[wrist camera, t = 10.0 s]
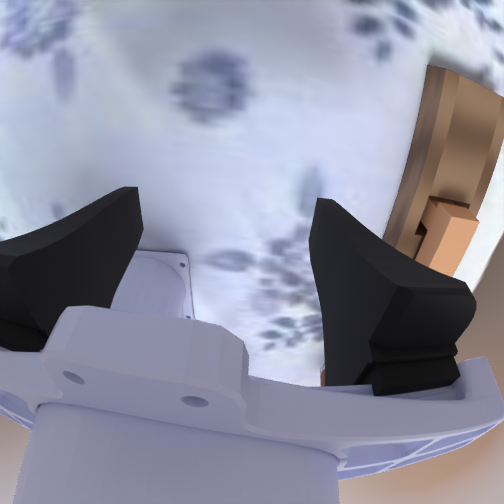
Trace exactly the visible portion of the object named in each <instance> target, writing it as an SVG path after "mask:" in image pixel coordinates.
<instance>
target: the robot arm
mask: <svg viewBox="0 0 504 504" xmlns="http://www.w3.org/2000/svg"><path fill="white" fill-rule="evenodd" d="M143 229H144V228H143V222H142V215H141V208H140V201H139V193H138V187H122V188H119V189H117V190H115V191H113V192H111V193H109V194H107V195H105V196H103V197H102V198H100V199H98V200H96V201H94V202H93V203H91V204H89V205H87V206H85V207H84V208H82V209H80V210H78V211H76V212H74V213H73V214H71V215H69V216H67V217H65V218H63V219H61V220H59V221H56V222H54V223H52V224H50V225H48V226H45V227H43V228H40V229H37V230H35V231H32V232H30V233H27V234H24V235H21V236H18V237H15V238H12V239H8V240H5V241H1V242H0V414H2V415H4V416H5V417H7V418H9V419H10V420H12V421H14V422H16V423H18V424H20V425H21V426H23V427H25V428H27V429H29V430H30V431H31V433H30V436H29V439H28V443H27V446H26V449H25V453H24V457H23V460H22V464H21V468H20V473H19V476H18V481H17V485H16V490H15V495H14V500H13V504H339V488H338V480H344V479H350V478H356V477H361V476H366V475H370V474H375V473H379V472H383V471H387V470H391V469H395V468H399V467H403V466H406V465H409V464H413V463H416V462H419V461H423V460H426V459H429V458H432V457H435V456H438V455H441V454H444V453H447V452H450V451H453V450H456V449H459V448H461V447H464V446H466V445H467V444H469V443H470V442H472V441H474V440H475V439H477V438H478V437H480V436H482V435H483V434H484V433H486V432H487V431H489V430H490V429H492V428H493V427H495V426H496V425H498V424H499V423H500V422H502V421H503V420H504V402H503V399H502V396H501V394H500V391H499V388H498V385H497V382H496V380H495V377H494V375H493V372H492V370H491V367H490V365H489V362H488V360H487V358H486V357H478V358H473V359H467V360H464V361H461V362H460V363H458V364H456V361H455V359H454V356H455V355H456V354H457V352H458V350H457V348H456V345H455V342H456V341H457V340H458V338H459V337H460V336H461V335H462V333H463V332H464V331H465V329H466V328H467V327H468V325H469V324H470V322H471V321H472V318H473V317H474V314H475V311H476V300H475V298H474V296H473V294H472V293H471V291H470V289H469V287H468V286H467V284H466V283H465V282H463V281H461V280H458V279H456V278H453V277H450V276H448V275H445V274H442V273H440V272H438V271H436V270H434V269H431V268H429V267H427V266H425V265H423V264H421V263H419V262H417V261H415V260H414V259H412V258H410V257H408V256H407V255H405V254H403V253H401V252H400V251H398V250H397V249H395V248H394V247H392V246H391V245H389V244H388V243H386V242H385V241H383V240H382V239H380V238H379V237H378V236H376V235H375V234H374V233H373V232H371V231H370V230H369V229H367V228H366V227H365V226H364V225H363V224H361V223H360V222H359V221H358V220H357V219H356V218H354V217H353V216H352V215H351V214H350V213H349V212H348V211H346V210H345V209H344V208H343V207H342V206H341V205H339V204H338V203H337V202H336V201H334V200H332V199H325V198H317V202H316V207H315V212H314V217H313V222H312V227H311V231H310V236H309V251H310V261H311V265H312V270H313V274H314V279H315V283H316V287H317V292H318V296H319V301H320V306H321V312H322V322H323V334H324V353H325V387H305V386H299V385H293V384H288V383H283V382H278V381H273V380H268V379H264V378H259V377H255V376H250V375H248V366H249V355H248V352H247V349H246V347H245V344H244V342H243V340H241V339H240V338H238V337H237V336H235V335H234V334H232V333H231V332H229V331H228V330H226V329H225V328H223V327H222V326H219V325H215V324H211V323H207V322H204V321H200V320H196V319H194V314H193V305H192V295H191V285H190V274H189V262H188V257H187V256H186V255H185V254H179V253H166V252H152V251H139V250H136V249H137V247H138V244H139V241H140V238H141V235H142V232H143ZM181 263H184V264H185V265H183V264H181Z"/></svg>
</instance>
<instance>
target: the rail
mask: <svg viewBox="0 0 504 504" xmlns="http://www.w3.org/2000/svg"><path fill="white" fill-rule="evenodd" d="M503 139H504V97H502V96H500V95H498V94H497V93H495V92H493V91H491V90H489V89H487V88H485V87H484V86H482V85H480V84H478V83H476V82H474V81H472V80H470V79H468V78H465V77H463V76H461V75H459V74H457V73H455V72H452V71H450V70H448V69H445V68H440V67H435V66H430V65H428V66H427V72H426V78H425V84H424V89H423V95H422V100H421V105H420V110H419V114H418V119H417V123H416V128H415V132H414V136H413V140H412V144H411V148H410V152H409V156H408V160H407V163H406V167H405V171H404V174H403V178H402V181H401V184H400V188H399V191H398V194H397V197H396V201H395V204H394V207H393V210H392V213H391V216H390V219H389V222H388V225H387V228H386V231H385V233H384V236H383V239H382V240H383V241H385V242H386V243H388V244H389V245H391V246H392V247H394V248H395V249H397V250H398V251H400V252H401V253H403V254H405V255H407V256H408V257H410V258H412V259H414V260H415V259H416V257H417V254H418V252H419V250H420V248H421V245H422V243H423V241H424V238H425V236H426V234H427V231H428V230H427V229H426V227H425V226H424V225H423V223H422V222H421V220H420V219H421V216H422V214H423V211H424V208H425V205H426V203H427V200H428V197H429V195H431V196H436V197H440V198H445V199H450V200H452V201H453V202H454V203H455V204H456V205H457V206H460V207H465V208H467V209H468V210H469V211H470V212H471V213H472V214H473V215H474V216H475V217H476V216H477V214H478V211H479V209H480V206H481V204H482V201H483V199H484V196H485V194H486V191H487V188H488V186H489V183H490V180H491V177H492V174H493V172H494V169H495V165H496V162H497V159H498V156H499V153H500V149H501V146H502V142H503Z"/></svg>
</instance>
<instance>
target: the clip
mask: <svg viewBox="0 0 504 504" xmlns="http://www.w3.org/2000/svg"><path fill="white" fill-rule="evenodd" d="M420 220H421V222H422V223H423V225H424V226H425V227H426V229H427V230H428V231H427V234H426V236H425V238H424V241H423V243H422V245H421V248H420V250H419V252H418V254H417V257H416V259H415V261H417V262H419V263H421V264H423V265H425V266H427V267H429V268H431V269H434V270H436V271H438V272H440V273H442V274H445V275H448V276H450V277H452V276H453V275H454V273H455V271H456V269H457V267H458V265H459V263H460V262H461V260H462V258H463V256H464V254H465V252H466V250H467V248H468V246H469V244H470V242H471V240H472V237H473V235H474V233H475V231H476V229H477V227H478V224H479V221H478V220H477V219H476V217H475V216H474V215H473V214H472V213H471V212H470V211H469V210H468V209H467V208H465V207H460V206H457V205H456V204H455V203H454V202H453V201H452V200H450V199H445V198H440V197H436V196H431V195H429V197H428V200H427V203H426V205H425V208H424V211H423V214H422V216H421V219H420Z"/></svg>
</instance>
